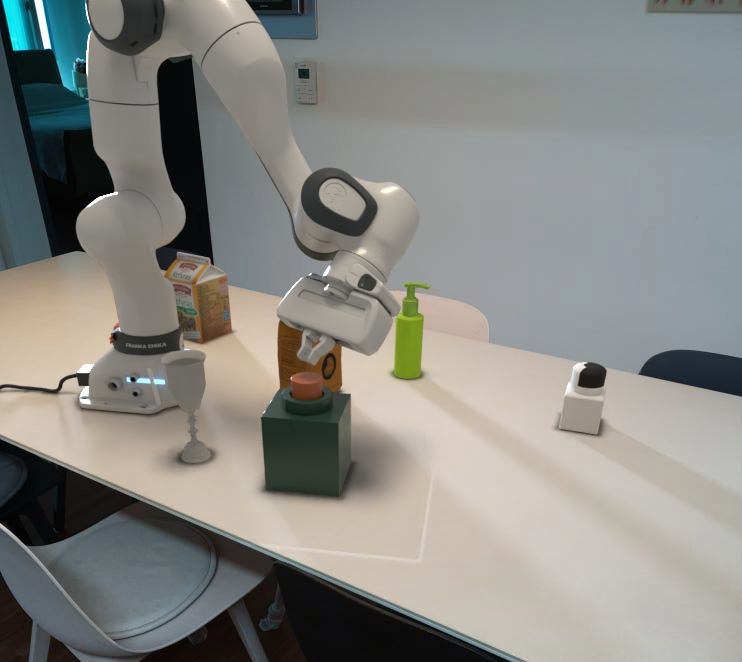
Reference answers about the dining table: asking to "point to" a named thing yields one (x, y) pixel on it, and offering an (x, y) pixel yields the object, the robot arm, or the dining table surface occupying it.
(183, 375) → the chalice
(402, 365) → the soap dispenser
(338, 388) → the coffee package
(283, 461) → the push button housing
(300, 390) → the red push button
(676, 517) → the dining table surface
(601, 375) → the medicine bottle
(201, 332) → the milk carton
